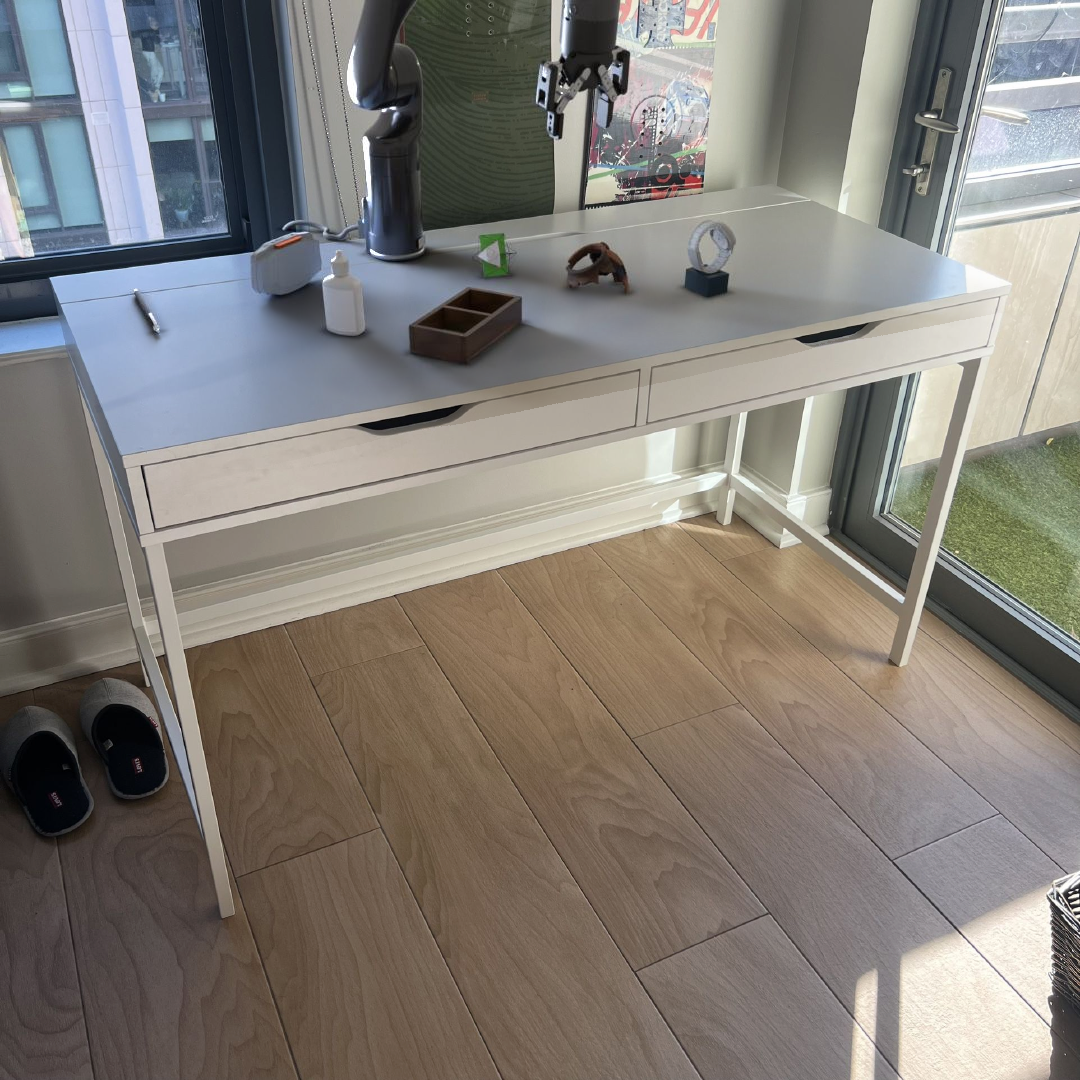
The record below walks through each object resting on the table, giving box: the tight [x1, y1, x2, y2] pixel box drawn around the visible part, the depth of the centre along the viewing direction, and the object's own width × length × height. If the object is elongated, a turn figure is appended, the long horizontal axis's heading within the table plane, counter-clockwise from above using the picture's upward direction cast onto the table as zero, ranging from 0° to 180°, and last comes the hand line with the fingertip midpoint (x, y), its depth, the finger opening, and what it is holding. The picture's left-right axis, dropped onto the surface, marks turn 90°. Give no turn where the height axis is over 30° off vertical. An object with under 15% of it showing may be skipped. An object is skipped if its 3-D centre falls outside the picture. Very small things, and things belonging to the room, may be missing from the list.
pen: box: [133, 288, 161, 333], centre depth 160 cm, size 1×19×1 cm, turn 27°
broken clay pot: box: [565, 241, 630, 294], centre depth 171 cm, size 12×10×8 cm
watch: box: [683, 219, 737, 298], centre depth 169 cm, size 6×8×11 cm
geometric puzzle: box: [470, 232, 518, 278], centre depth 175 cm, size 7×7×8 cm
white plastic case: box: [250, 231, 323, 296], centre depth 168 cm, size 14×3×8 cm, turn 150°
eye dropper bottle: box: [322, 249, 366, 337], centre depth 152 cm, size 4×6×12 cm
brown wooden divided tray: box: [408, 286, 523, 365], centre depth 153 cm, size 9×17×4 cm, turn 155°
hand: (579, 132), depth 149 cm, fingers open, 8 cm apart
